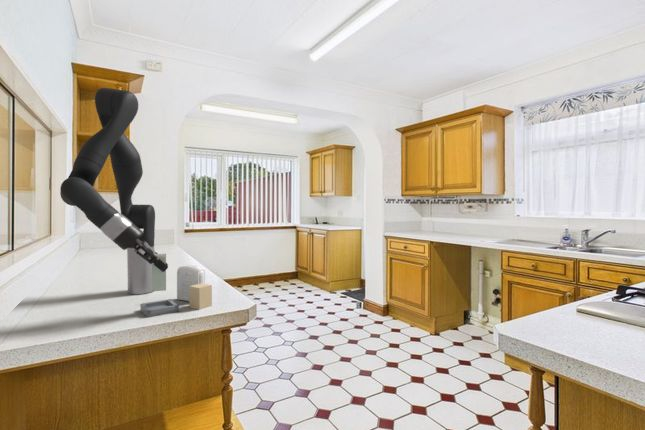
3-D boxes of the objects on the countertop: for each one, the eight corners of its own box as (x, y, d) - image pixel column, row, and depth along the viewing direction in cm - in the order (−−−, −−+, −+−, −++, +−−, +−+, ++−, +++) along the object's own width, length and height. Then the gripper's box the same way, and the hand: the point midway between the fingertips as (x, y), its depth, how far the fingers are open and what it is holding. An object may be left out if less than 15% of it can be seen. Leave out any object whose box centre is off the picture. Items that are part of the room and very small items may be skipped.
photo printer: (207, 300, 126) (206, 265, 125) (198, 303, 122) (198, 267, 121) (183, 297, 130) (183, 263, 129) (175, 300, 126) (174, 265, 125)
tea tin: (152, 288, 114) (151, 254, 113) (166, 287, 115) (166, 253, 115) (151, 291, 110) (151, 255, 110) (166, 290, 112) (166, 255, 111)
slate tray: (140, 310, 114) (140, 303, 114) (170, 305, 119) (170, 299, 119) (147, 317, 107) (147, 310, 107) (178, 311, 112) (178, 305, 112)
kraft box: (189, 307, 117) (189, 286, 117) (201, 303, 122) (201, 283, 121) (199, 309, 115) (199, 288, 115) (211, 306, 119) (211, 285, 119)
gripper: (129, 223, 103) (175, 262, 108) (133, 221, 116) (174, 256, 121) (108, 242, 101) (156, 281, 106) (114, 238, 114) (157, 273, 119)
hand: (165, 268), depth 113 cm, fingers closed on tea tin, 4 cm apart
